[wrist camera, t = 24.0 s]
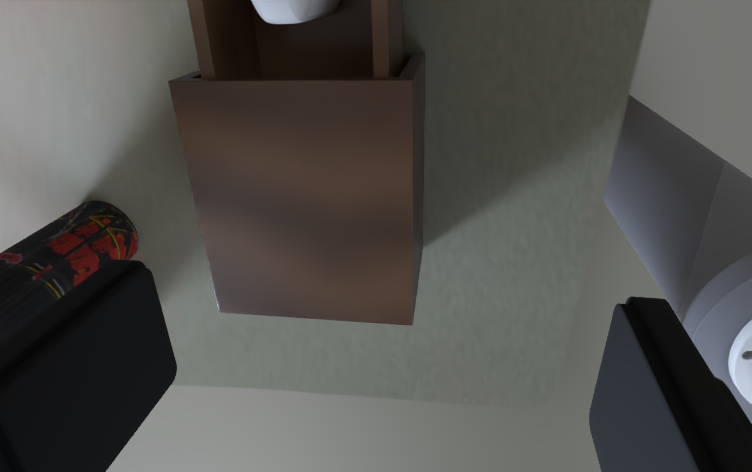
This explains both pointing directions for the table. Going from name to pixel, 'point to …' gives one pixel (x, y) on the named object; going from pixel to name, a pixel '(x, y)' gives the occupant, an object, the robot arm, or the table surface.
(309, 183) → the cabinet
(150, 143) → the table surface
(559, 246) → the table surface
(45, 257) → the deodorant
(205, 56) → the drawer
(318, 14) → the eye dropper bottle
